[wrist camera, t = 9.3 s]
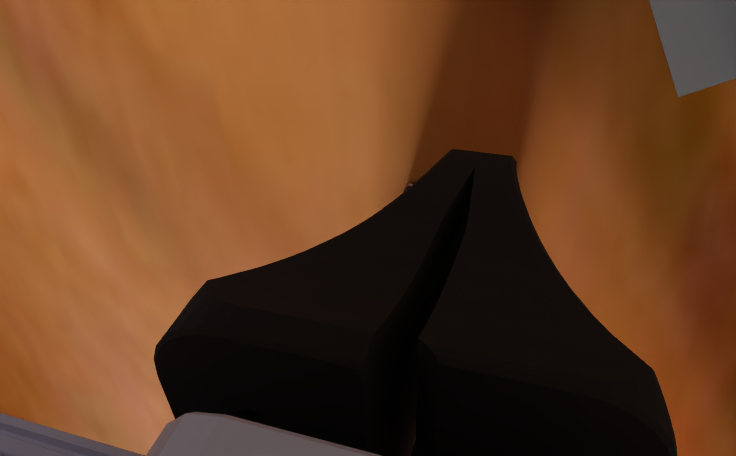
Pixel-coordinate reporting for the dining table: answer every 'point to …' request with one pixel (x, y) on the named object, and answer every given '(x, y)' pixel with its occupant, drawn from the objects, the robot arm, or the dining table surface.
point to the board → (697, 41)
